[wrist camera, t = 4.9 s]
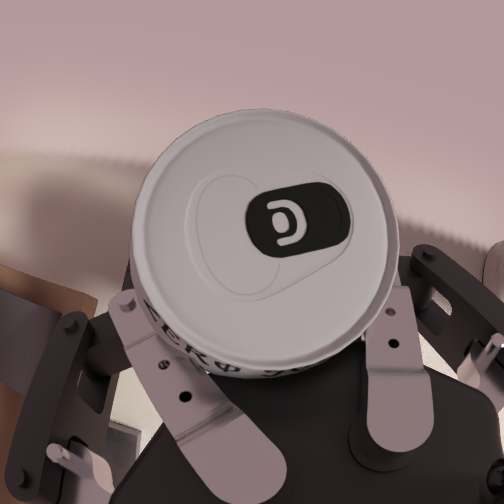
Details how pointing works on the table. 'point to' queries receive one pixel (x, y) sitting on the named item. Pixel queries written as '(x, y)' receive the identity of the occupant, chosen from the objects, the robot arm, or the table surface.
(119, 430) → the seesaw stand
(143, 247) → the energy drink can
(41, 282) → the seesaw beam
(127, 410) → the table surface
